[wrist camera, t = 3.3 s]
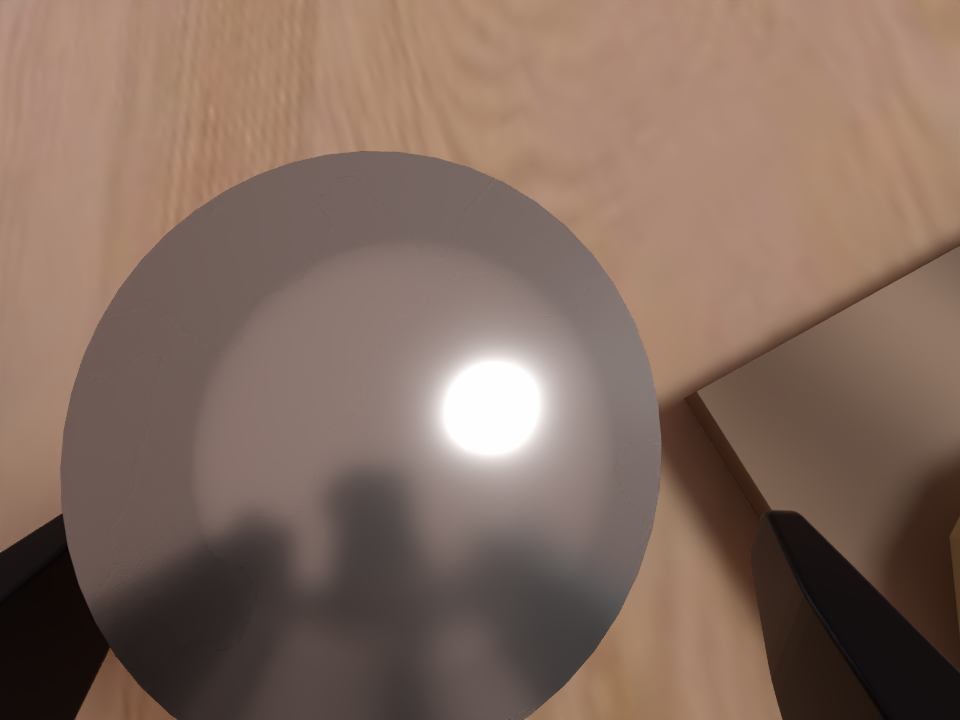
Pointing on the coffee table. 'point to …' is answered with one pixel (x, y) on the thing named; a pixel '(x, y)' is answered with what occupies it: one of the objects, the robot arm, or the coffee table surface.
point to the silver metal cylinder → (361, 450)
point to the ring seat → (863, 439)
